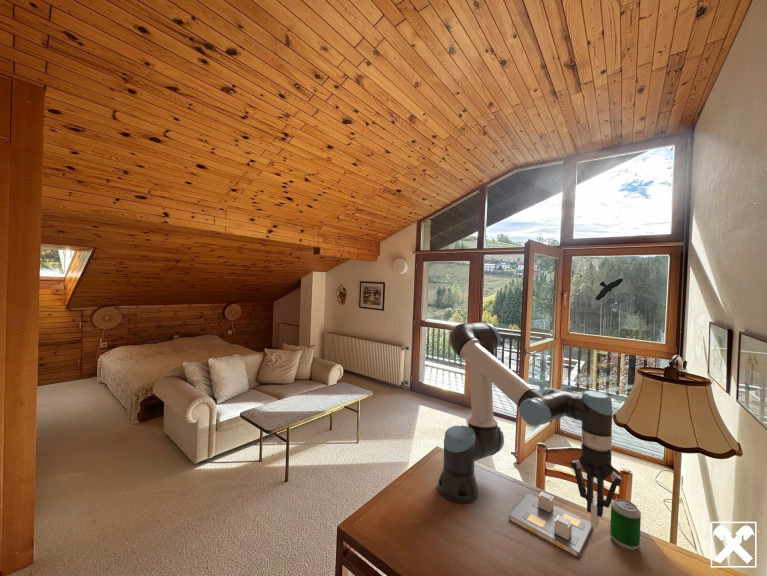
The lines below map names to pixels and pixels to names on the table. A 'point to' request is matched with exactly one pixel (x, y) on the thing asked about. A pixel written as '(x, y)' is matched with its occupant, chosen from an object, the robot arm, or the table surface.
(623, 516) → the soda can
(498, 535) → the table surface
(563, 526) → the slider near
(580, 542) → the switch board
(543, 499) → the slider far
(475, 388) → the robot arm
